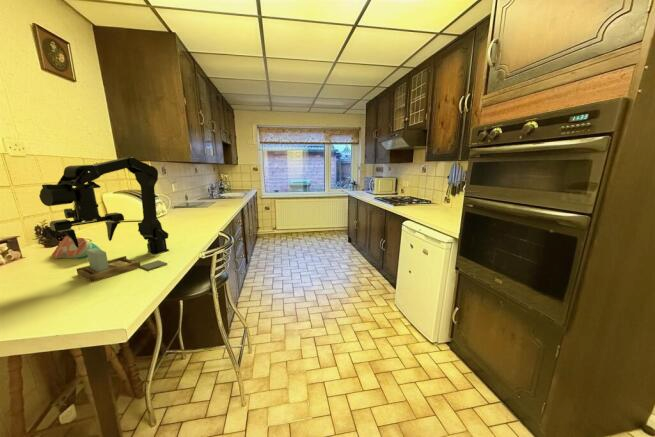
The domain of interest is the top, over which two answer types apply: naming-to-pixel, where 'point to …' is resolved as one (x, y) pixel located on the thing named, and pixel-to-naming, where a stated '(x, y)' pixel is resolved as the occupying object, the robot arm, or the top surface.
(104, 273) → the rack
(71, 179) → the robot arm
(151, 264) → the rubber mat
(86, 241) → the athletic shoe
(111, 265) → the offcut stack
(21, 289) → the top surface
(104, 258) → the grey square block
